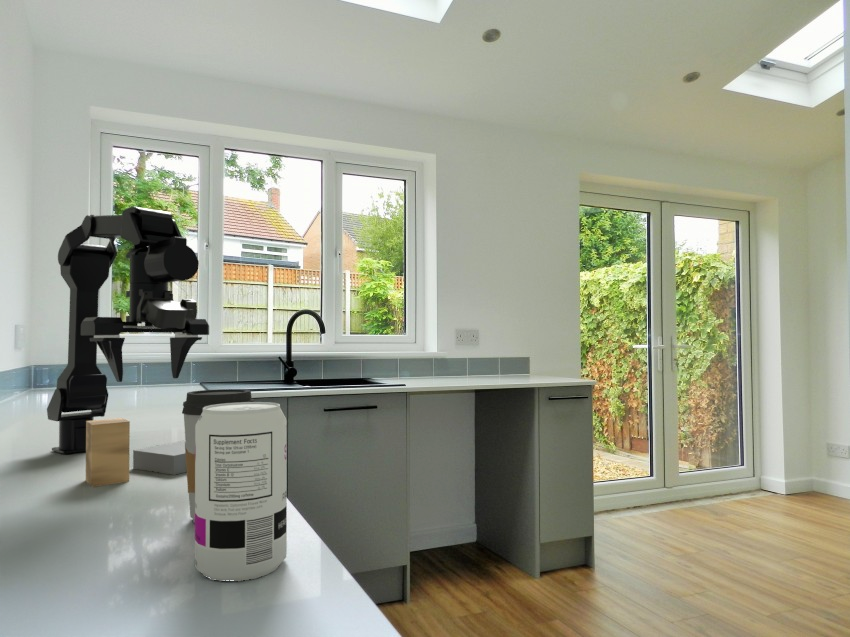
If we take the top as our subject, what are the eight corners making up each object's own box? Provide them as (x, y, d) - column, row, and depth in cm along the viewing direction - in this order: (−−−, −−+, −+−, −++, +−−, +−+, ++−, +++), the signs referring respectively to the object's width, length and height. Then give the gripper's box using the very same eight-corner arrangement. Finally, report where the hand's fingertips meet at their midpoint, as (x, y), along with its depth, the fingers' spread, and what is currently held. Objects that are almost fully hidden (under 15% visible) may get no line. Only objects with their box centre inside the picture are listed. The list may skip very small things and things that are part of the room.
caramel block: (85, 480, 88) (86, 421, 88) (122, 475, 91) (122, 417, 92) (91, 486, 84) (92, 424, 85) (129, 481, 87) (129, 421, 88)
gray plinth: (133, 468, 96) (133, 450, 96) (184, 457, 105) (184, 440, 105) (173, 474, 91) (174, 455, 91) (223, 462, 100) (223, 445, 100)
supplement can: (175, 574, 53) (176, 408, 53) (242, 545, 60) (242, 399, 60) (240, 592, 49) (241, 413, 49) (304, 558, 56) (304, 403, 57)
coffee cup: (241, 529, 65) (242, 395, 65) (168, 529, 65) (169, 395, 66) (264, 507, 73) (264, 388, 74) (198, 507, 73) (199, 388, 74)
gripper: (111, 277, 83) (111, 386, 82) (227, 285, 98) (227, 378, 97) (79, 282, 90) (78, 383, 89) (192, 289, 105) (191, 376, 104)
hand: (148, 380), depth 95 cm, fingers open, 9 cm apart
